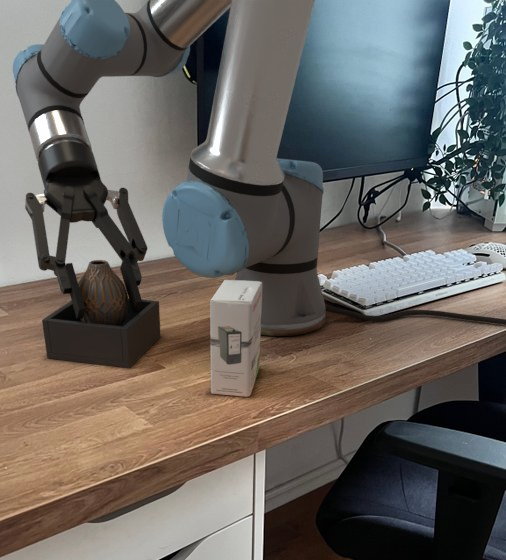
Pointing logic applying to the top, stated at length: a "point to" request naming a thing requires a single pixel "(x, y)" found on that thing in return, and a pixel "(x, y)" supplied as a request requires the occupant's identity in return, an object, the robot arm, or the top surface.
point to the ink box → (235, 337)
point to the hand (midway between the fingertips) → (109, 310)
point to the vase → (103, 295)
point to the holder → (102, 336)
